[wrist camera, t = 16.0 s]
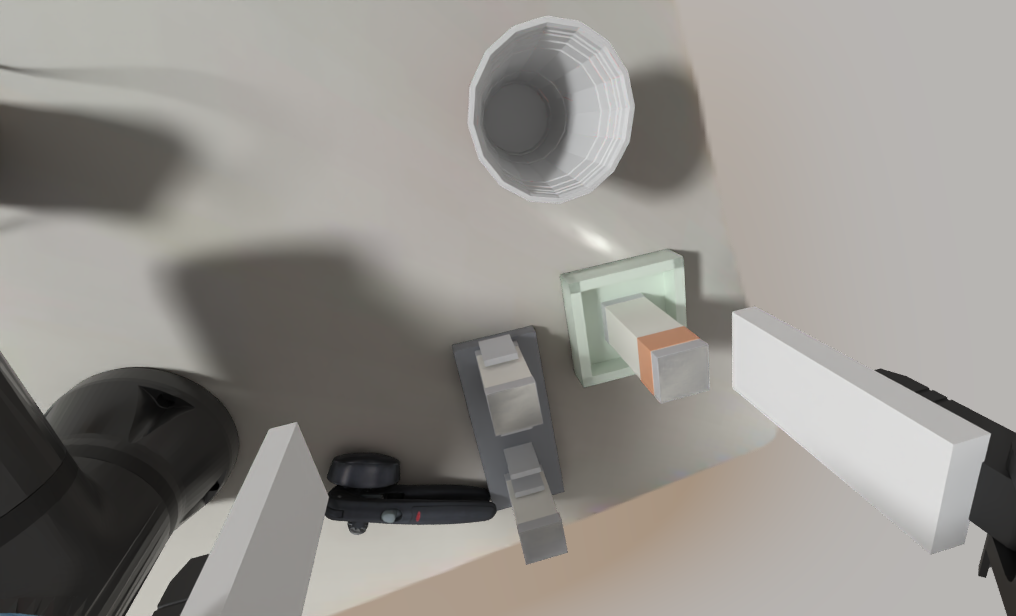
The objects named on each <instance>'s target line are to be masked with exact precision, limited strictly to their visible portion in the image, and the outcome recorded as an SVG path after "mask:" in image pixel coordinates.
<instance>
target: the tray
mask: <svg viewBox="0 0 1016 616" xmlns="http://www.w3.org/2000/svg"><path fill="white" fill-rule="evenodd" d="M560 280H561V287H562V293H563V300H564V306H565V313H566V320H567V326H568V333H569V339H570V346H571V352H572V359H573V366H574V372H575V375H576V376H577V378H578V379H579V381H580V383H581V384H582V386H583V387H584V388H585V387H589V386H593V385H597V384H601V383H604V382H608V381H612V380H616V379H620V378H624V377H627V376H631V375H635V374H636V373H635V372H634V371H633V370H632V369H631V368H630V367H629V365H628V364H627V363H626V362H625V361H624V360H623V359H622V357H621V356H620V355H619V354H618V353H617V352H616V351H615V349H614V348H613V347H612V346H611V345H610V344H608V342H607V341H606V340H605V334H604V325H603V317H602V309H601V302H605V301H609V300H613V299H617V298H622V297H626V296H630V295H634V294H638V293H641V294H643V295H644V296H645V298H647V299H648V300H649V301H651V302H652V303H653V304H655V305H656V306H657V307H659V308H660V309H661V310H662V311H664V312H665V313H666V314H668V315H669V316H670V317H672V318H673V319H674V320H676V321H677V322H678V323H679V324H681V325H682V326H685V327H686V328H687V320H686V298H685V277H684V257H683V256H681V255H679V254H677V253H675V252H673V251H671V250H669V249H665V250H661V251H657V252H652V253H648V254H644V255H640V256H635V257H631V258H627V259H623V260H619V261H614V262H610V263H606V264H602V265H598V266H593V267H589V268H585V269H581V270H577V271H572V272H568V273H564V274H560Z"/></svg>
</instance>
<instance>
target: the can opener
mask: <svg viewBox="0 0 1016 616" xmlns="http://www.w3.org/2000/svg"><path fill="white" fill-rule="evenodd" d="M327 479H328V480H329V481H330V482H332V483H334V484H337V486H335V487H334V488H333V489H332V490H331V491H330V492H329V493H328V496H329V498H328V503H327V507H326V511H325V516H326V517H327V518H329V519H331V520H336V521H348V524H347V525H348V528H349V531H350V532H351V533H353V534H355V535H359V534H362V533H364V532H365V531H366V529H367V527H368V522H370V523H384V524H412V525H415V524H417V525H424V524H425V525H428V524H430V525H432V524H433V525H434V524H458V523H470V522H479V521H486V520H489V519H491V518H493V516H494V515H495V514H496V511H497V508H496V505H495V504H494V503H493V502H490V501H489V500H490V493H489V491H488V490H487V489H485V488H480V487H473V486H462V485H397V484H395V483H397V482H398V481H399V480H400V462H399V461H398V460H397V459H395V458H392V457H389V456H386V455H381V454H373V453H353V454H345V455H341V456H338V457H336V458H334V459H333V461H332V464H331V466H330V469H329V471H328V474H327Z"/></svg>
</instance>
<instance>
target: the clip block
mask: <svg viewBox="0 0 1016 616" xmlns="http://www.w3.org/2000/svg"><path fill="white" fill-rule="evenodd" d="M513 341H517V343H518V345H519V349H520V351H521V353H522V355H523V357H524V360H525V362H526V364H527V366H528V368H529V371H530V373H531V375H532V376H533V378H534V380H535V382H536V387H537V393H538V398H539V403H540V408H541V414H542V419H543V424H540V425H537V426H533V427H529V428H525V429H522V430H518V431H514V432H510V433H507V434H503V435H499V436H495V432H494V428H493V424H492V420H491V415H490V411H489V407H488V403H487V399H486V394H485V393H484V389H483V384H482V380H481V376H480V372H479V368H478V364H477V359H476V355H475V351H477V350H481V354H482V357H483V361H484V364H485V367H487V366H491V365H495V364H499V363H503V362H507V361H511V360H515V359H519V358H518V353H517V350H516V348H515V346H514V344H513ZM452 347H453V353H454V357H455V361H456V365H457V368H458V372H459V376H460V380H461V384H462V388H463V392H464V396H465V399H466V403H467V407H468V411H469V415H470V419H471V423H472V427H473V430H474V434H475V438H476V442H477V446H478V450H479V454H480V458H481V461H482V465H483V469H484V473H485V477H486V481H487V485H488V489H489V492H490V496H491V500H492V502H493V503H494V504H495V505H496V508H497V511H498V510H501V509H505V508H509V507H512V506H511V502H510V497H509V493H508V489H507V485H506V481H505V477H504V474H507V473H509V475H510V478H511V482H512V486H513V490H514V494H515V497H516V498H518V497H521V496H525V495H528V494H532V493H535V492H539V491H543V490H545V488H544V484H543V481H542V478H541V475H540V472H541V468H540V464H541V465H542V468H543V471H544V475H545V478H546V480H547V483H548V486H549V489H550V491H551V494H552V495H555V494H558V493H562V492H564V486H563V481H562V475H561V470H560V464H559V459H558V453H557V448H556V442H555V437H554V431H553V426H552V420H551V415H550V409H549V404H548V398H547V393H546V387H545V382H544V376H543V371H542V365H541V360H540V354H539V348H538V343H537V337H536V332H535V330H534V328H533V326H528V327H524V328H520V329H516V330H512V331H508V332H503V333H499V334H495V335H491V336H487V337H483V338H479V339H475V340H471V341H467V342H463V343H459V344H455V345H452Z"/></svg>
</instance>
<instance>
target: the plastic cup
mask: <svg viewBox="0 0 1016 616" xmlns="http://www.w3.org/2000/svg"><path fill="white" fill-rule="evenodd" d="M634 110H635V104H634V99H633V94H632V89H631V84H630V79H629V74H628V70H627V69H626V67H625V66H624V64H623V62H622V61H621V59H620V58H619V56H618V54H617V53H616V51H615V49H614V48H613V46H612V45H611V43H610V41H609V40H607V39H606V38H604V37H603V36H601V35H600V34H599V33H597V32H596V31H594V30H593V29H591V28H590V27H589V26H587V25H586V24H584V23H583V22H581V21H578V20H572V19H566V18H560V17H554V16H548V15H546V16H543V17H540V18H536V19H533V20H530V21H527V22H523V23H520V24H517V25H514V26H512V27H511V28H510V29H509V30H508V31H507V32H506V33H504V34H503V35H502V36H501V37H500V38H499V39H498V40H497V41H496V42H495V43H493V44H492V45H491V46H490V47H489V48H488V49H487V50H486V51H485V53H484V55H483V58H482V60H481V62H480V64H479V66H478V68H477V71H476V73H475V75H474V77H473V79H472V82H471V84H470V88H469V106H468V127H469V130H470V134H471V137H472V140H473V143H474V146H475V149H476V153H477V156H478V159H479V160H480V162H481V163H482V164H483V165H484V167H485V168H486V169H487V170H488V171H489V173H490V174H491V175H492V176H493V178H494V179H495V180H496V181H497V183H498V184H499V185H500V186H501V187H503V188H505V189H507V190H508V191H510V192H512V193H514V194H516V195H518V196H520V197H522V198H524V199H525V200H527V201H529V202H543V203H557V204H561V203H564V202H567V201H569V200H572V199H575V198H578V197H581V196H583V195H586V194H589V193H591V192H592V191H593V190H594V189H595V188H596V187H597V186H598V185H600V184H601V183H602V182H603V181H604V180H605V179H606V178H607V177H608V176H610V175H611V174H612V173H613V172H614V171H615V169H616V167H617V165H618V163H619V161H620V159H621V157H622V155H623V154H624V152H625V150H626V148H627V146H628V144H629V142H630V137H631V130H632V123H633V116H634Z"/></svg>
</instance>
